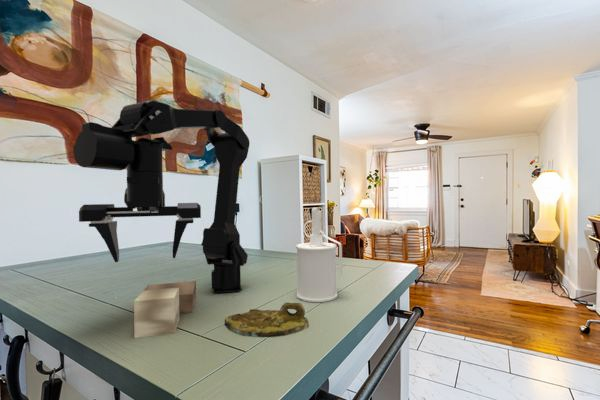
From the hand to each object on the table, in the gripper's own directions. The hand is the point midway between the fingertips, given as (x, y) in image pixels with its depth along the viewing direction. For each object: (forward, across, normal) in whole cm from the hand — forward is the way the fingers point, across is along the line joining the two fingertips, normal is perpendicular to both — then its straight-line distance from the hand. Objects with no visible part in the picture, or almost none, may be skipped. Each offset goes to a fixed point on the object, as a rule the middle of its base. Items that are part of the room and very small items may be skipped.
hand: (146, 259), depth 54 cm
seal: (+12, -20, +8) cm, 25 cm away
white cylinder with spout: (+12, -35, -3) cm, 37 cm away
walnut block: (+12, -3, -8) cm, 15 cm away
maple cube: (+12, -2, +3) cm, 12 cm away
